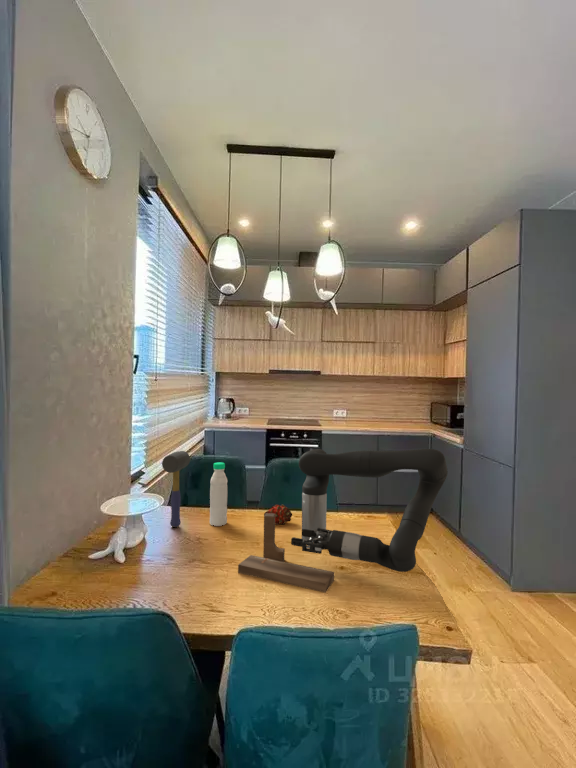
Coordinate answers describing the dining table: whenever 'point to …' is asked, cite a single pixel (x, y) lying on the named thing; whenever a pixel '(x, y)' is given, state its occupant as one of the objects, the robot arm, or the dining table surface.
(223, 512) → the water bottle
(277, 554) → the wooden block
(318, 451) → the robot arm
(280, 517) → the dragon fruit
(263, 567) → the walnut plank
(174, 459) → the rubber mallet
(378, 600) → the dining table surface
